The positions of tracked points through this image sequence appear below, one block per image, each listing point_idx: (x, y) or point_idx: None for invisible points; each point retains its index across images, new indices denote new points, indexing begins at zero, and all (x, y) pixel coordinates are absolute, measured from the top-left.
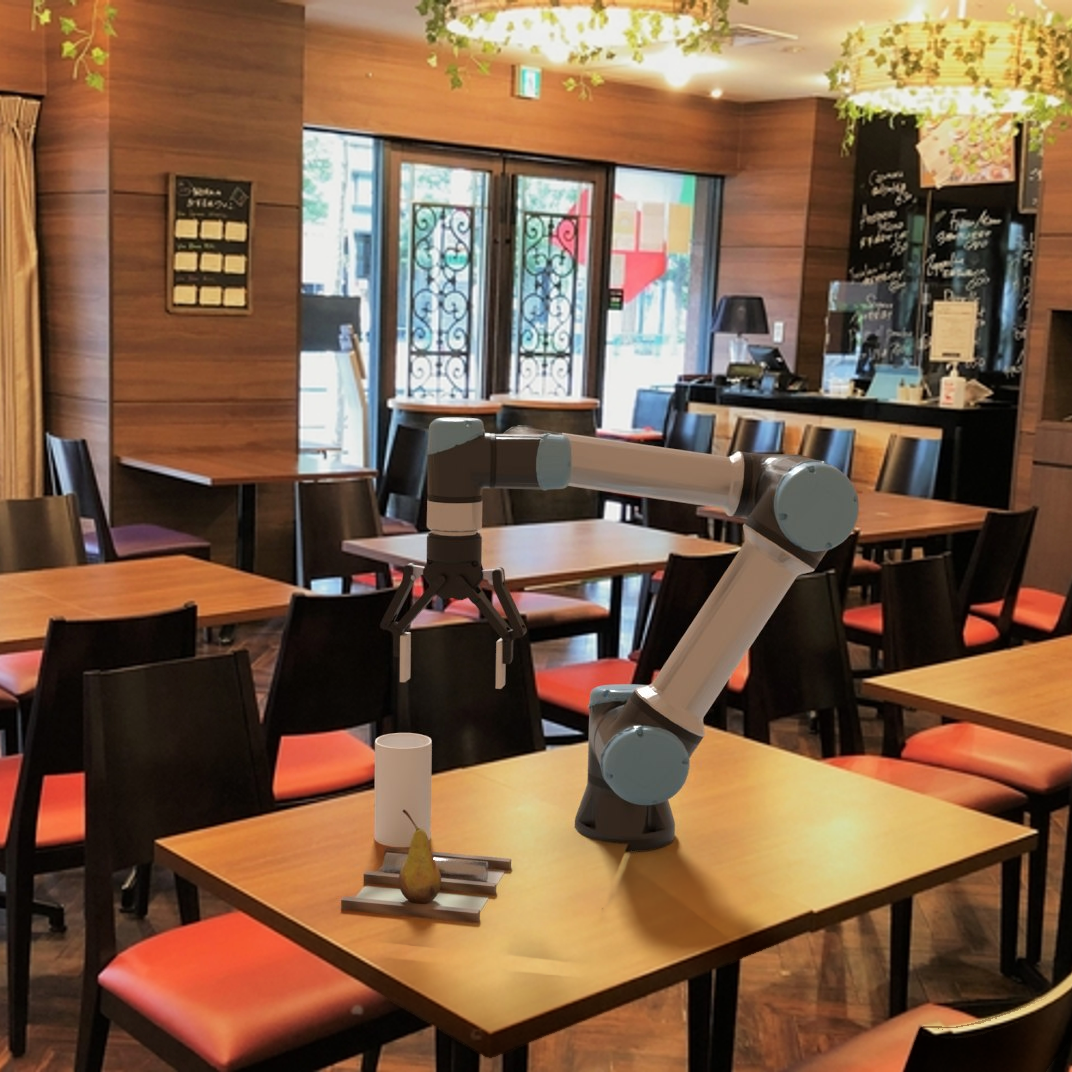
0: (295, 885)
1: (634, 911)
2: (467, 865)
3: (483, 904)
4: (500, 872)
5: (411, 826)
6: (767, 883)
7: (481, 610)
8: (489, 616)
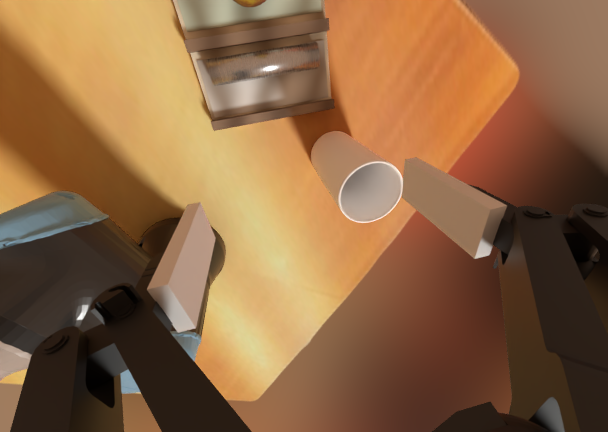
0: (391, 13)
1: (52, 88)
2: (226, 61)
3: (179, 3)
4: (216, 110)
5: (325, 144)
6: (3, 211)
7: (215, 405)
8: (171, 381)
